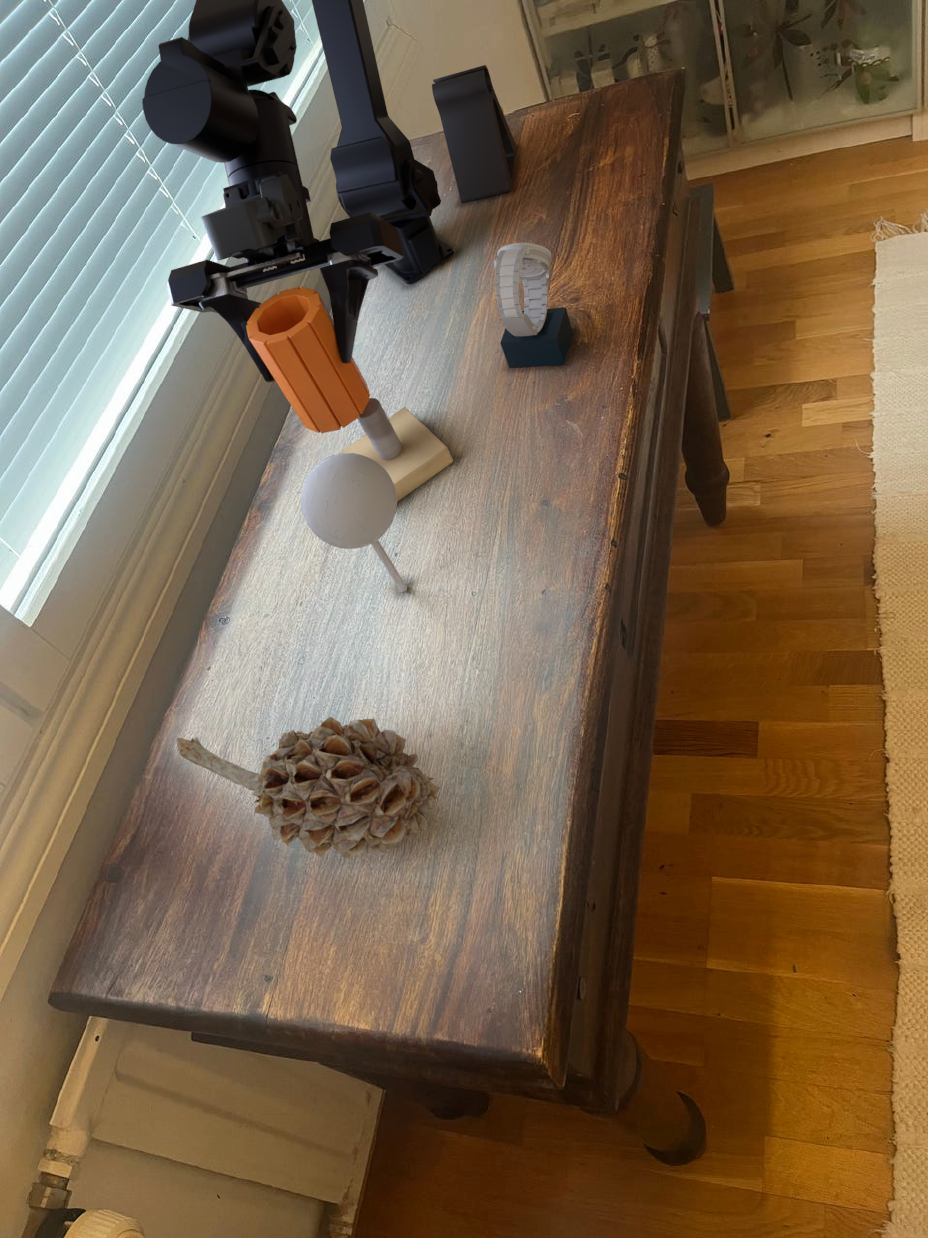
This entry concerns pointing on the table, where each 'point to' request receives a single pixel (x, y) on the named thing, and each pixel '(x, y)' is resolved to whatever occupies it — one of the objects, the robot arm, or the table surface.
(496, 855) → the table surface
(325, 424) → the orange fluted tube
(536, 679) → the table surface
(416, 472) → the peg on block
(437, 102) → the phone stand
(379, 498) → the lollipop
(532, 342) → the watch
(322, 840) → the pine cone
